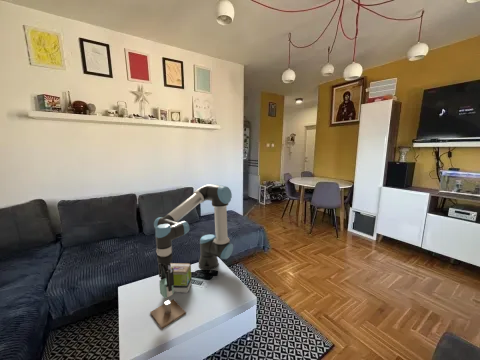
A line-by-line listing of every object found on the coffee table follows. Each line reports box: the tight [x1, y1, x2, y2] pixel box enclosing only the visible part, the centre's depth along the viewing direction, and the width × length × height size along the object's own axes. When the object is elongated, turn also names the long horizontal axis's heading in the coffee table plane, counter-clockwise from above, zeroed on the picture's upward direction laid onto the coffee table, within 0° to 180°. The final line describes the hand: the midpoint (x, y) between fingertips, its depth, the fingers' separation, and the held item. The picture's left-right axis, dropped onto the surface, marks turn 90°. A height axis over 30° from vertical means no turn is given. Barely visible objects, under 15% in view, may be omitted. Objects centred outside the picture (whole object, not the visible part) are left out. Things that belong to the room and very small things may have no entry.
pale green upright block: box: [159, 278, 175, 299], centre depth 114 cm, size 5×5×8 cm
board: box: [150, 298, 187, 330], centre depth 116 cm, size 14×14×1 cm
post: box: [163, 299, 171, 314], centre depth 116 cm, size 3×3×6 cm
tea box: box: [170, 262, 193, 294], centre depth 136 cm, size 15×10×15 cm, turn 87°
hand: (167, 292), depth 114 cm, fingers closed on pale green upright block, 5 cm apart
